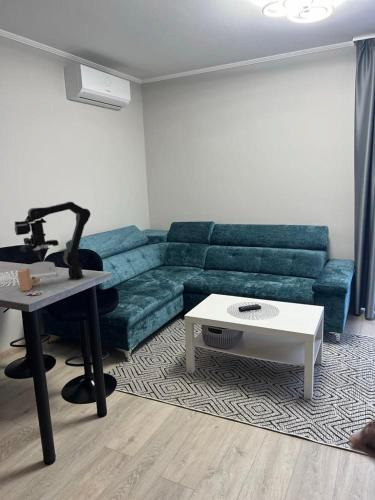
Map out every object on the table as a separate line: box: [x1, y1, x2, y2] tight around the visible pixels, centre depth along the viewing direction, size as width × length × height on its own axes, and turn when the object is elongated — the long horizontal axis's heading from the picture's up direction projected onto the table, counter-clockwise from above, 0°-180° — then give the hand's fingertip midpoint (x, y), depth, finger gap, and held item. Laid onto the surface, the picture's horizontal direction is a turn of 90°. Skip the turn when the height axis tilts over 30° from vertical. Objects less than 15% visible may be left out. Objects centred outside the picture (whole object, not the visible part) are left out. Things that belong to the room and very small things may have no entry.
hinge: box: [25, 261, 58, 280], centre depth 210 cm, size 17×5×10 cm, turn 110°
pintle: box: [32, 277, 41, 287], centre depth 195 cm, size 6×6×4 cm
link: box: [16, 268, 41, 292], centre depth 190 cm, size 14×5×10 cm, turn 0°
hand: (42, 261), depth 192 cm, fingers closed
